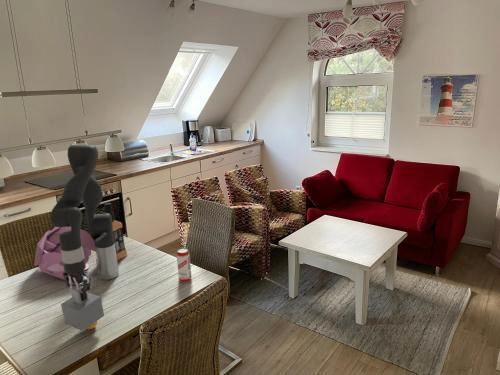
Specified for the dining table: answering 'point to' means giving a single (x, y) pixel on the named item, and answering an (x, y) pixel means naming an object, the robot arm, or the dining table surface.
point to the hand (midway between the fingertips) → (80, 298)
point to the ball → (92, 325)
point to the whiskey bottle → (116, 234)
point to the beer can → (184, 265)
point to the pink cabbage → (59, 251)
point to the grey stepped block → (82, 309)
